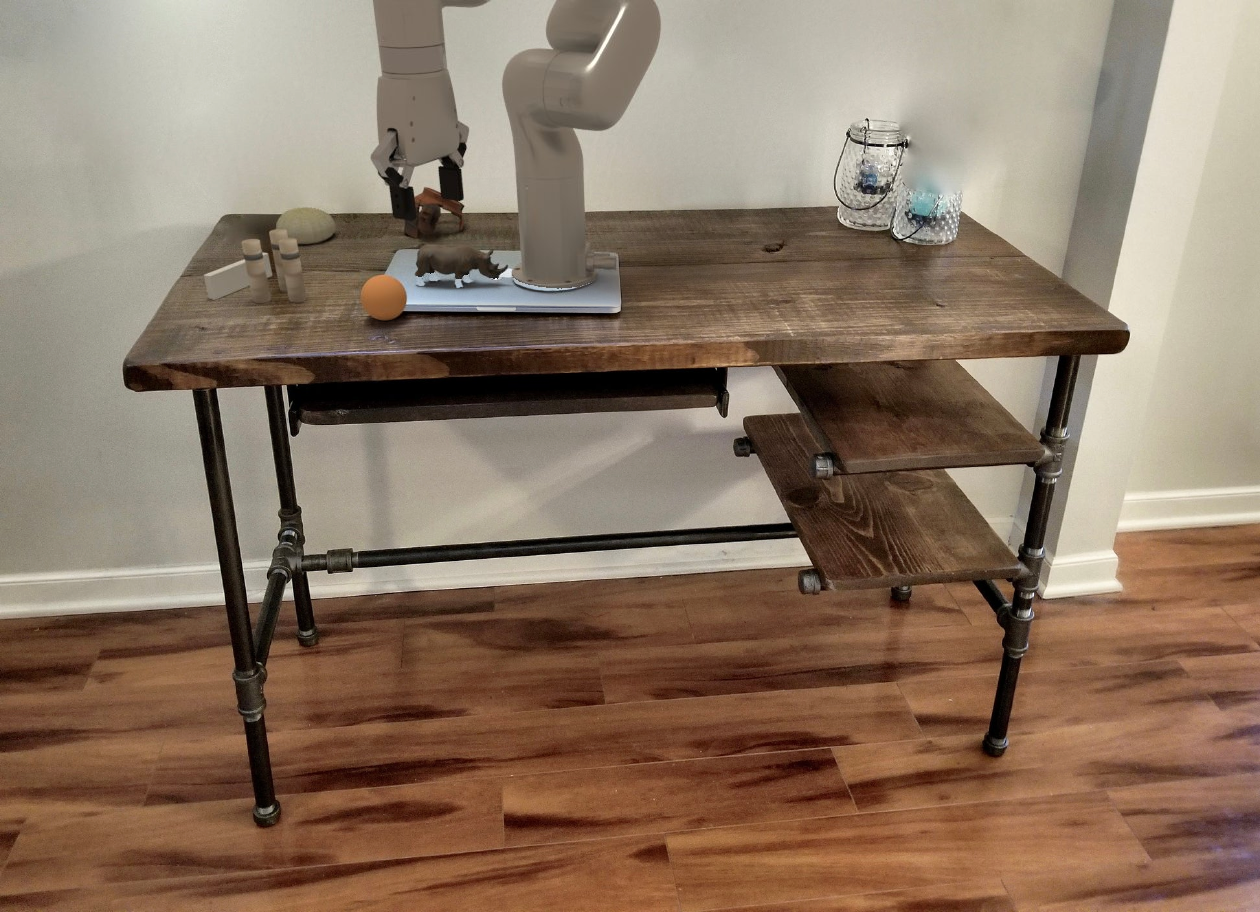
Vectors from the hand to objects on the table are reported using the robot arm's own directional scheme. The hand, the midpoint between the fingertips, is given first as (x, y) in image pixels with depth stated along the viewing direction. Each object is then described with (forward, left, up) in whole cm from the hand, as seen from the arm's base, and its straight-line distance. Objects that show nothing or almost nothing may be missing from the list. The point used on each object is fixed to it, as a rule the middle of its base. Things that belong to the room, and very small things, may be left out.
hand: (429, 208), depth 128 cm
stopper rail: (+34, -14, -16) cm, 40 cm away
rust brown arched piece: (+12, -41, -17) cm, 46 cm away
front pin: (+23, -10, -16) cm, 30 cm away
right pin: (+26, -14, -16) cm, 34 cm away
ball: (+9, -4, -13) cm, 16 cm away
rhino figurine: (+2, -17, -17) cm, 24 cm away
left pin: (+28, -9, -16) cm, 34 cm away
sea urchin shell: (+33, -37, -17) cm, 52 cm away
